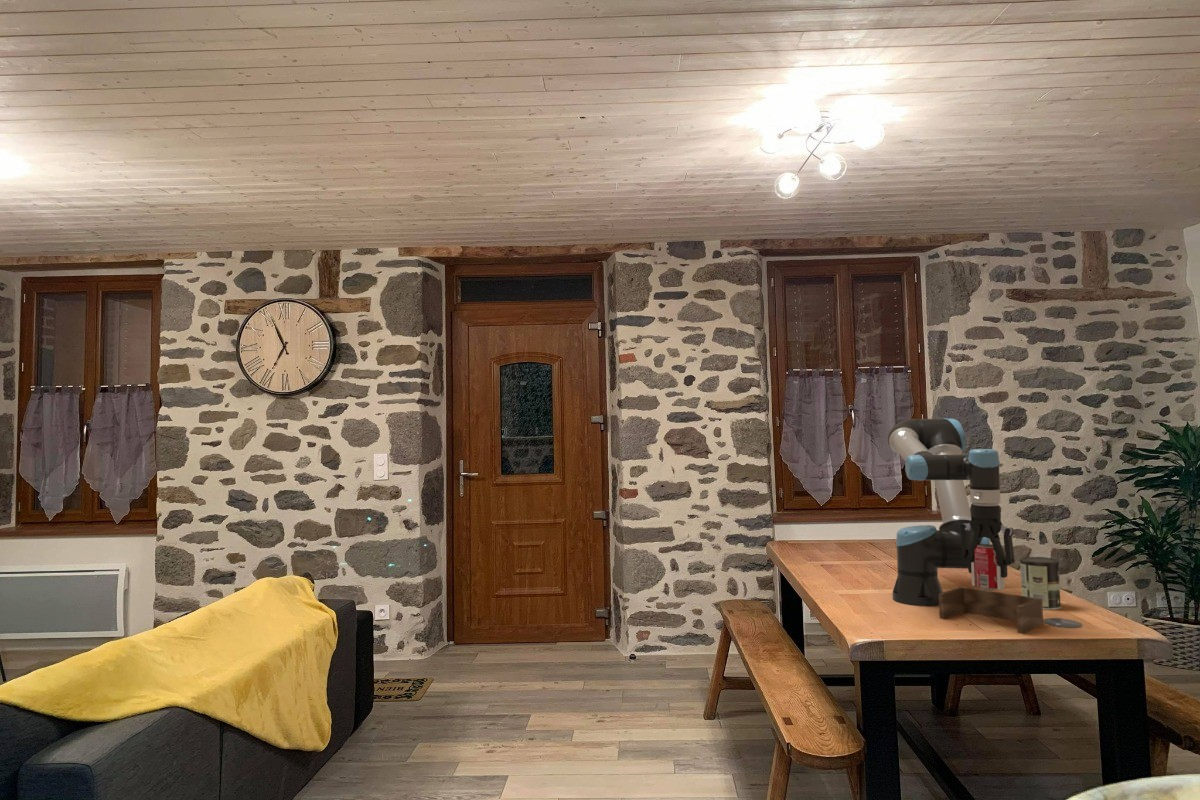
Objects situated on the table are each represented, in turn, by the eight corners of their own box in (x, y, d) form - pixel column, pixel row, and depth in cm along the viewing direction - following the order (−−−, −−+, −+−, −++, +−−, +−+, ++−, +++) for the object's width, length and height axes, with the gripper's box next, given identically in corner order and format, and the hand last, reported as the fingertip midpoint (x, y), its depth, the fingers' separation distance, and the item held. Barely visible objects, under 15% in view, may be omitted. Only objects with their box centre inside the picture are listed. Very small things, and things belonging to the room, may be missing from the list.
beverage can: (998, 586, 209) (997, 544, 209) (1002, 591, 203) (1001, 547, 203) (974, 585, 211) (972, 543, 211) (977, 590, 205) (976, 546, 205)
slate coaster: (1037, 624, 204) (1037, 622, 204) (1050, 618, 209) (1050, 616, 209) (1074, 630, 197) (1074, 628, 197) (1087, 624, 202) (1086, 622, 202)
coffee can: (1053, 603, 228) (1051, 556, 228) (1067, 611, 217) (1064, 562, 218) (1016, 602, 230) (1014, 556, 230) (1028, 610, 220) (1026, 562, 220)
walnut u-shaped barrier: (939, 619, 211) (938, 593, 211) (962, 611, 219) (961, 586, 220) (1022, 634, 194) (1021, 607, 194) (1043, 625, 202) (1042, 598, 203)
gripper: (945, 502, 213) (947, 583, 212) (1016, 508, 198) (1019, 595, 197) (957, 500, 218) (959, 579, 217) (1027, 505, 203) (1030, 590, 202)
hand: (988, 586), depth 207 cm, fingers closed on beverage can, 6 cm apart
